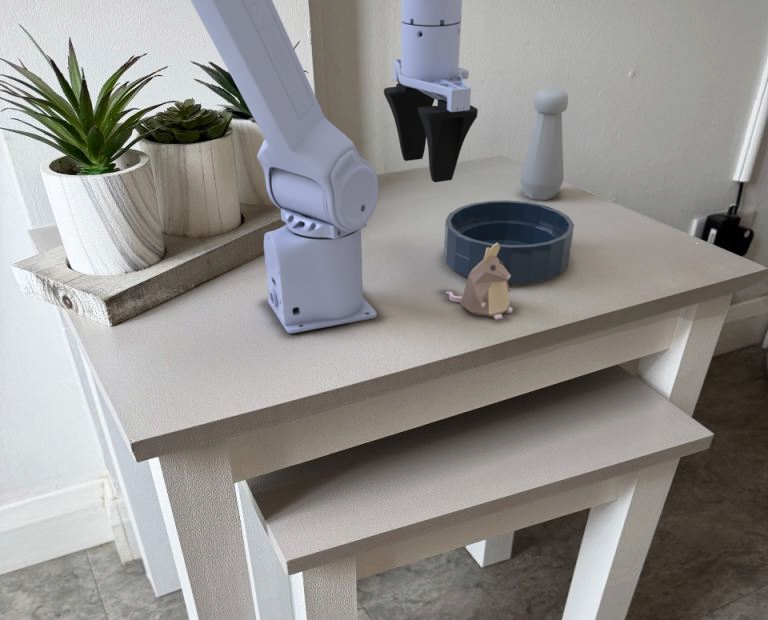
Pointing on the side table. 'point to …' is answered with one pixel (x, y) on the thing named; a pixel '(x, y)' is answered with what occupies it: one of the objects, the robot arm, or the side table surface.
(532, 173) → the salt shaker
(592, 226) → the side table surface
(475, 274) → the mouse figurine
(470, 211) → the bowl
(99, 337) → the side table surface
